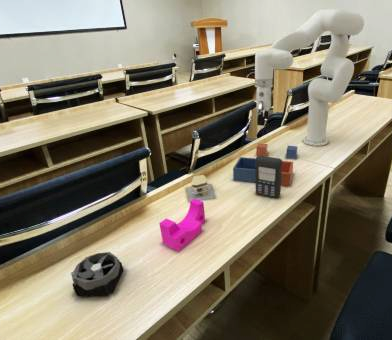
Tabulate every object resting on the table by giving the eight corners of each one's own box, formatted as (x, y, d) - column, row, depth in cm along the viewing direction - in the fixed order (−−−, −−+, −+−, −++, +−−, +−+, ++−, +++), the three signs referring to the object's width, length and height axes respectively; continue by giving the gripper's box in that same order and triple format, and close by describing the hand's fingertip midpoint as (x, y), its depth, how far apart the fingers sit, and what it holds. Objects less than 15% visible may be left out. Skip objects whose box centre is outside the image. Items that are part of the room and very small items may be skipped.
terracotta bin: (267, 171, 130) (267, 159, 128) (292, 173, 128) (293, 161, 125) (262, 183, 121) (262, 171, 119) (289, 186, 119) (290, 173, 116)
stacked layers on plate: (187, 187, 119) (185, 175, 117) (210, 184, 121) (209, 172, 118) (189, 201, 111) (187, 188, 108) (214, 198, 112) (213, 185, 110)
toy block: (178, 251, 88) (175, 230, 84) (163, 243, 91) (159, 223, 87) (211, 223, 99) (209, 204, 95) (196, 217, 102) (194, 198, 99)
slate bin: (240, 168, 133) (239, 156, 130) (264, 171, 131) (264, 159, 128) (233, 180, 124) (233, 168, 121) (259, 183, 121) (259, 170, 119)
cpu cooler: (123, 251, 80) (108, 281, 71) (127, 267, 83) (113, 298, 74) (84, 251, 80) (63, 282, 71) (89, 267, 83) (70, 299, 74)
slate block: (287, 154, 145) (287, 145, 143) (296, 155, 144) (297, 146, 142) (286, 158, 141) (286, 149, 139) (295, 159, 140) (296, 150, 138)
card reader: (254, 195, 114) (253, 158, 107) (257, 189, 117) (257, 154, 110) (277, 200, 111) (279, 162, 104) (281, 194, 114) (282, 157, 107)
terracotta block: (258, 151, 148) (258, 143, 146) (267, 152, 147) (267, 143, 145) (256, 155, 144) (256, 146, 142) (265, 156, 143) (265, 147, 141)
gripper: (269, 87, 121) (268, 128, 129) (275, 79, 136) (274, 116, 144) (250, 86, 123) (250, 127, 130) (259, 78, 138) (258, 115, 145)
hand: (262, 121), depth 137 cm, fingers open, 9 cm apart
